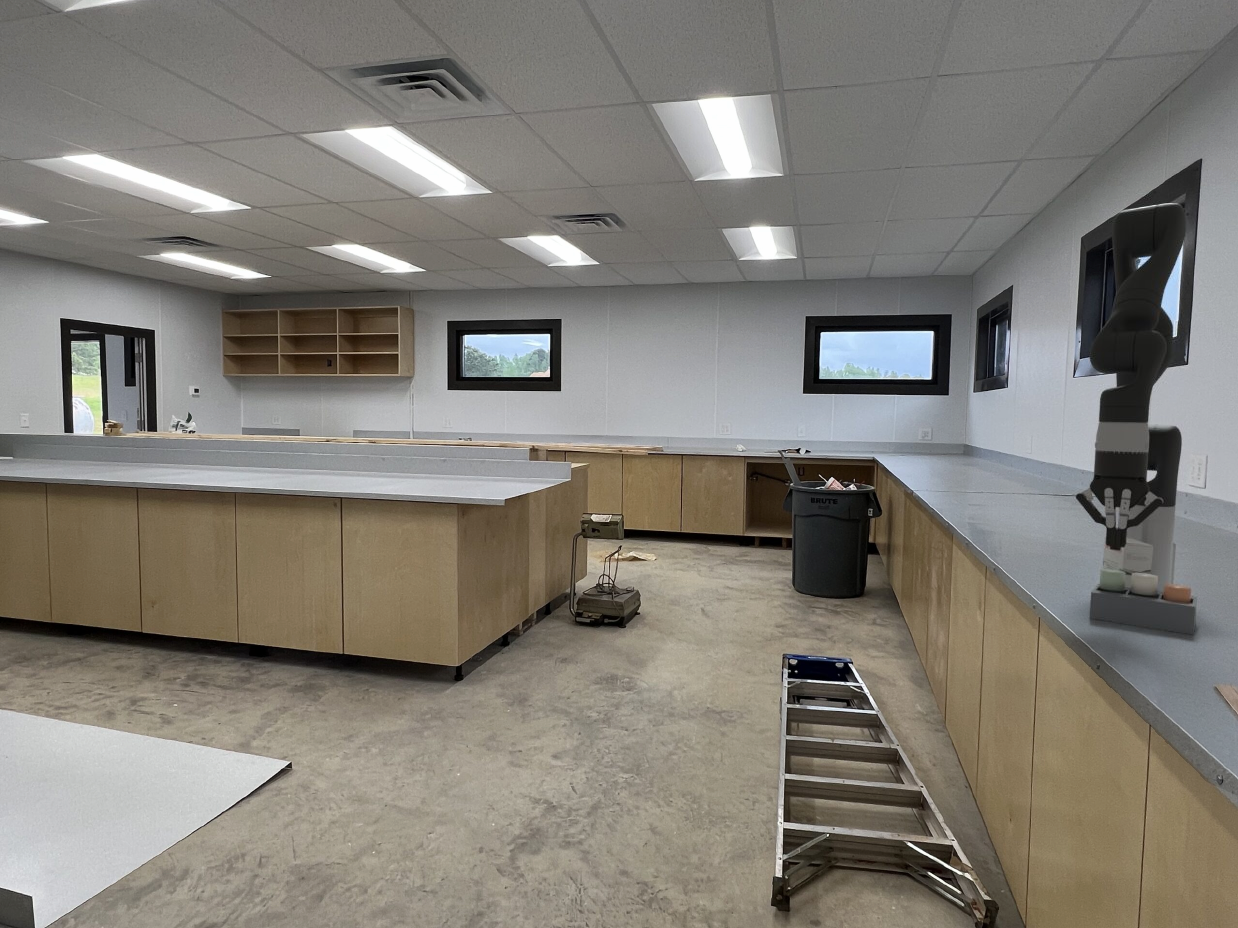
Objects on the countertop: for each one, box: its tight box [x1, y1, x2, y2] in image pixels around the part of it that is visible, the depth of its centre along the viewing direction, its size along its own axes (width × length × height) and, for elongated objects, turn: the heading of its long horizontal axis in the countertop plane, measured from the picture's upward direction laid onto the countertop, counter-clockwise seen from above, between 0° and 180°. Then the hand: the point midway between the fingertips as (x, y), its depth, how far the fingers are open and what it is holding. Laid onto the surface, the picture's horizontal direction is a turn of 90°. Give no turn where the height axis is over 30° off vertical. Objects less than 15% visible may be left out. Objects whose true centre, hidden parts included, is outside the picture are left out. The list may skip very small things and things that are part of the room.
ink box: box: [1101, 537, 1153, 588], centre depth 137 cm, size 9×5×12 cm, turn 168°
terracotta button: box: [1163, 584, 1192, 603], centre depth 121 cm, size 4×4×3 cm
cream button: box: [1131, 573, 1158, 595], centre depth 124 cm, size 4×4×3 cm
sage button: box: [1099, 568, 1125, 591], centre depth 127 cm, size 4×4×3 cm
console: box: [1089, 583, 1198, 635], centre depth 125 cm, size 9×14×4 cm, turn 50°
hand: (1115, 549), depth 127 cm, fingers closed
